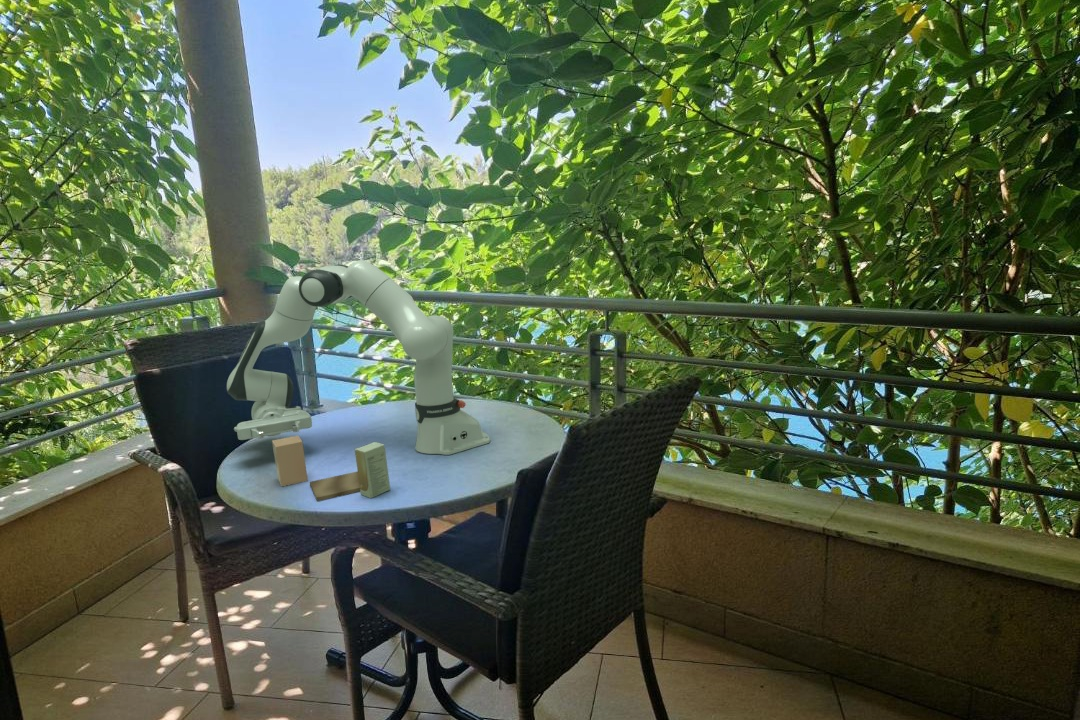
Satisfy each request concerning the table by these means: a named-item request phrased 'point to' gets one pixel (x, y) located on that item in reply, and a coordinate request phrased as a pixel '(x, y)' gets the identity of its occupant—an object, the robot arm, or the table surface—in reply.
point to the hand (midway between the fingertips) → (278, 432)
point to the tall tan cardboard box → (289, 460)
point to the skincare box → (372, 469)
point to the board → (335, 486)
